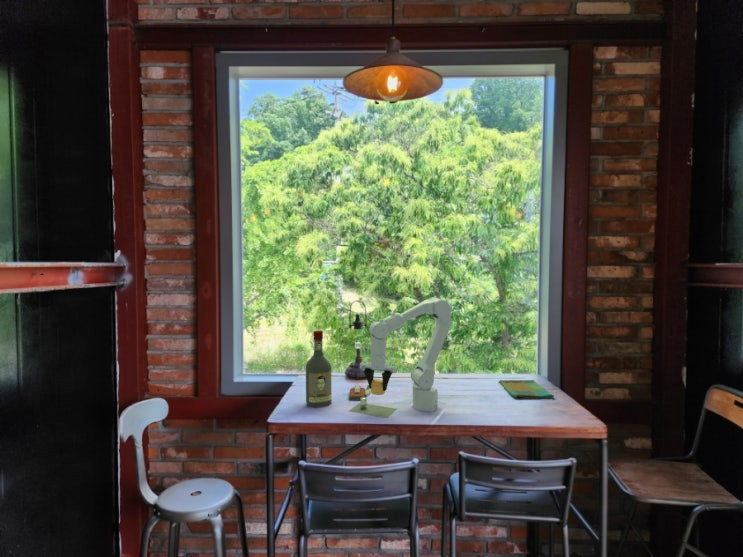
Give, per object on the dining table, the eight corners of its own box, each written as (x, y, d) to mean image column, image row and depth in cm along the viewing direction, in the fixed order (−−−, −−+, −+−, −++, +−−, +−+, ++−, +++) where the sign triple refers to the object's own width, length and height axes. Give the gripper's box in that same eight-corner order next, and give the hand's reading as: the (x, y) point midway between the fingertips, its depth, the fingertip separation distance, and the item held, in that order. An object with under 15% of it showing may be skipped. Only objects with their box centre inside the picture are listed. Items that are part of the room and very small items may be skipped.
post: (367, 407, 168) (367, 397, 168) (365, 409, 166) (365, 399, 165) (362, 406, 169) (362, 396, 169) (359, 408, 167) (359, 398, 166)
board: (397, 411, 167) (397, 408, 167) (387, 420, 158) (387, 417, 158) (360, 405, 174) (359, 402, 173) (348, 413, 164) (348, 411, 164)
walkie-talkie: (369, 404, 175) (370, 388, 195) (369, 394, 175) (370, 379, 195) (348, 404, 175) (351, 388, 195) (348, 393, 175) (351, 379, 195)
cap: (386, 391, 165) (386, 380, 165) (381, 395, 161) (381, 383, 161) (374, 389, 167) (374, 378, 167) (369, 393, 163) (369, 382, 163)
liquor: (305, 402, 176) (304, 330, 174) (326, 400, 179) (326, 328, 177) (310, 410, 168) (309, 334, 166) (332, 407, 171) (332, 332, 169)
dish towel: (513, 400, 180) (514, 394, 180) (497, 383, 204) (497, 378, 203) (555, 401, 180) (555, 395, 180) (534, 383, 204) (534, 378, 203)
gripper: (356, 354, 163) (356, 389, 163) (392, 358, 157) (391, 394, 157) (364, 350, 169) (364, 384, 170) (399, 354, 163) (398, 389, 164)
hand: (378, 389), depth 164 cm, fingers closed on cap, 5 cm apart
